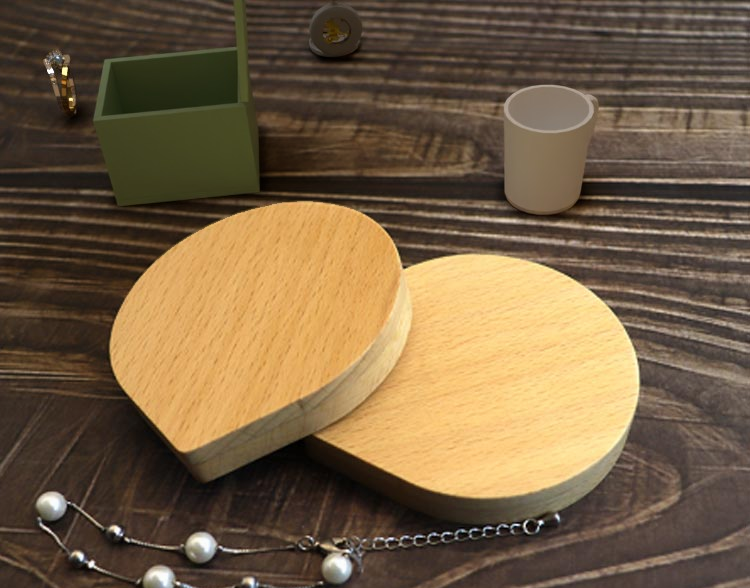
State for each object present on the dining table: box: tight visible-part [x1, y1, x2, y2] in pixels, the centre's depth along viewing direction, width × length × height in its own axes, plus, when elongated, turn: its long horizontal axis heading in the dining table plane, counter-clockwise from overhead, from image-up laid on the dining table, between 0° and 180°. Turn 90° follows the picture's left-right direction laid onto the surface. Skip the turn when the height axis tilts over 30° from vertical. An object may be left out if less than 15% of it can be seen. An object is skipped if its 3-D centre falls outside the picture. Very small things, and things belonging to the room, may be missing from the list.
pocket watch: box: [308, 0, 363, 58], centre depth 129 cm, size 8×8×10 cm
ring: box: [43, 48, 78, 118], centre depth 122 cm, size 7×3×8 cm, turn 2°
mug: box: [503, 84, 600, 216], centre depth 105 cm, size 11×9×10 cm
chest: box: [92, 46, 261, 207], centre depth 112 cm, size 16×13×11 cm
